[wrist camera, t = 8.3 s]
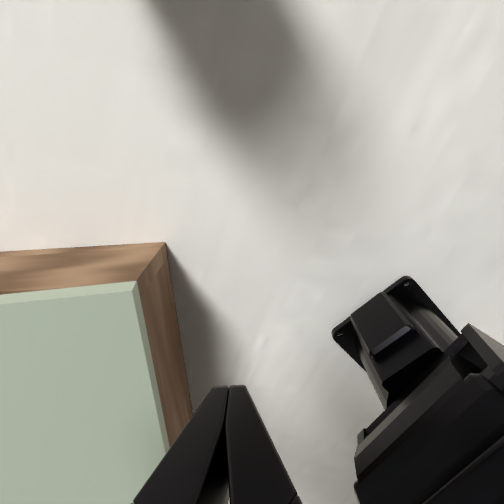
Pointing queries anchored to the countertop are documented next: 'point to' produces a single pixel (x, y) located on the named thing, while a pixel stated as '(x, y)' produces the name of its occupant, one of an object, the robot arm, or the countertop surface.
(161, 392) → the walnut box
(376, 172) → the countertop surface
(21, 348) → the lid
